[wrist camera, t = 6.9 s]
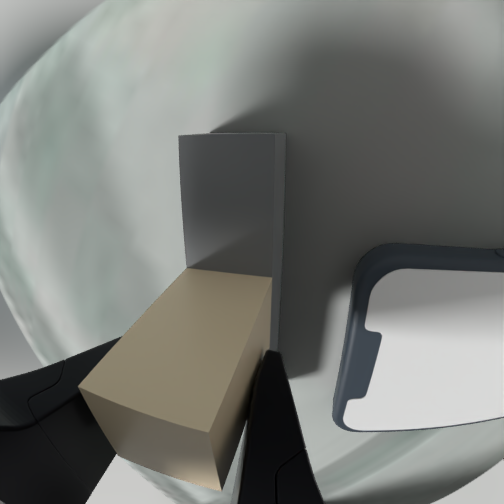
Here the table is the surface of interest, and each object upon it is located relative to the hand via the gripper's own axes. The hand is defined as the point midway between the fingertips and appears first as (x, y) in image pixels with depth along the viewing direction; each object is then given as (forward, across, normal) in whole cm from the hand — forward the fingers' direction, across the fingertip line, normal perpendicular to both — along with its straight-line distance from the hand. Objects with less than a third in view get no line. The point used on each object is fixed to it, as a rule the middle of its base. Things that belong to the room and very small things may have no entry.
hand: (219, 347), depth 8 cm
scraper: (+3, 0, -1) cm, 3 cm away
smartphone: (+4, -12, 0) cm, 12 cm away
